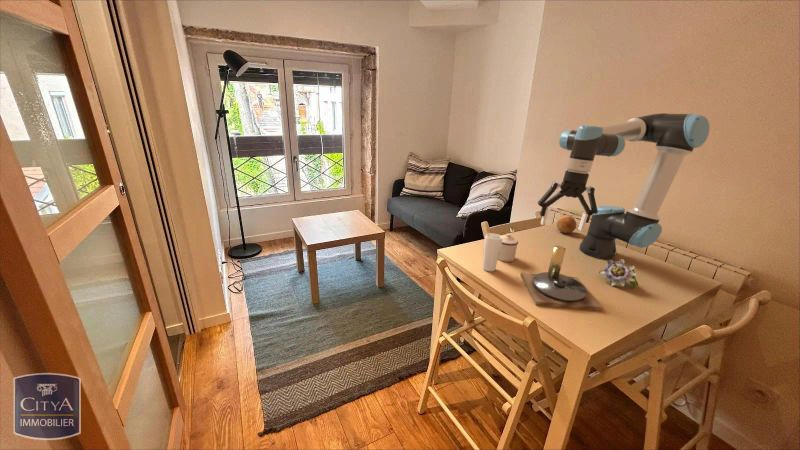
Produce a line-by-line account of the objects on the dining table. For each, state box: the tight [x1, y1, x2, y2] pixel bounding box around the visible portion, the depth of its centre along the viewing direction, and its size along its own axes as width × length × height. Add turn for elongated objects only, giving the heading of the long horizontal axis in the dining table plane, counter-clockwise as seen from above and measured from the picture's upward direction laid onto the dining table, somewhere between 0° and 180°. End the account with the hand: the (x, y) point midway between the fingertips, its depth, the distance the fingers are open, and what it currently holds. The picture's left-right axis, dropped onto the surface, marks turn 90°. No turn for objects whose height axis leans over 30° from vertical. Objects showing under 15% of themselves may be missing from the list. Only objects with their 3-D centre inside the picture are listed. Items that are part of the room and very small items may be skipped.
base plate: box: [520, 272, 603, 311], centre depth 117 cm, size 22×20×2 cm
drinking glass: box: [482, 232, 503, 272], centre depth 129 cm, size 7×7×15 cm
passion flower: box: [598, 258, 639, 289], centre depth 124 cm, size 11×11×12 cm
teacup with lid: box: [497, 233, 519, 263], centre depth 141 cm, size 12×9×12 cm
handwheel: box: [533, 245, 587, 302], centre depth 114 cm, size 18×18×13 cm
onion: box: [556, 214, 577, 234], centre depth 173 cm, size 10×10×10 cm
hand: (561, 227), depth 118 cm, fingers open, 13 cm apart
